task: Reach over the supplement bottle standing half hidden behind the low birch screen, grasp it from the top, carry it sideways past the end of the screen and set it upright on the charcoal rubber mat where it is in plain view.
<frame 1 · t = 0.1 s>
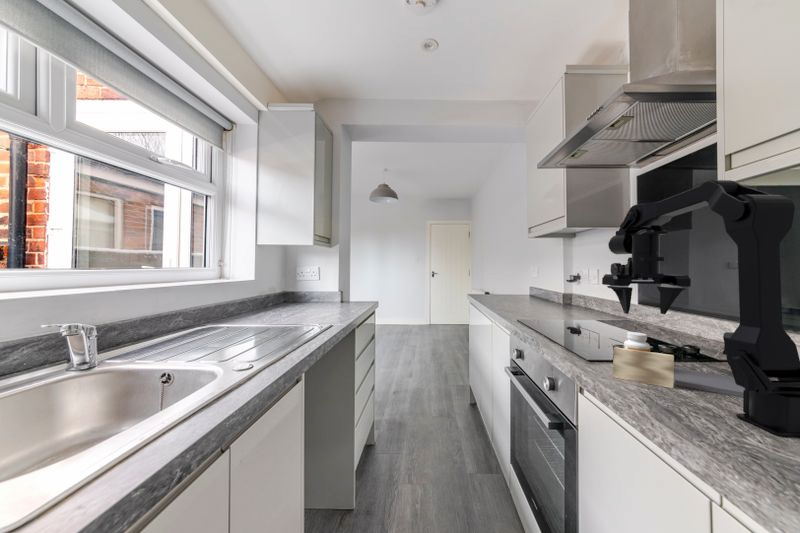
hand: (644, 313, 81), 15 cm above the worktop, tool pointing down, fingers open, 9 cm apart
birch screen: (641, 381, 73), on the worktop
supplement bottle: (636, 372, 80), on the worktop
charcoal mat: (706, 383, 72), on the worktop
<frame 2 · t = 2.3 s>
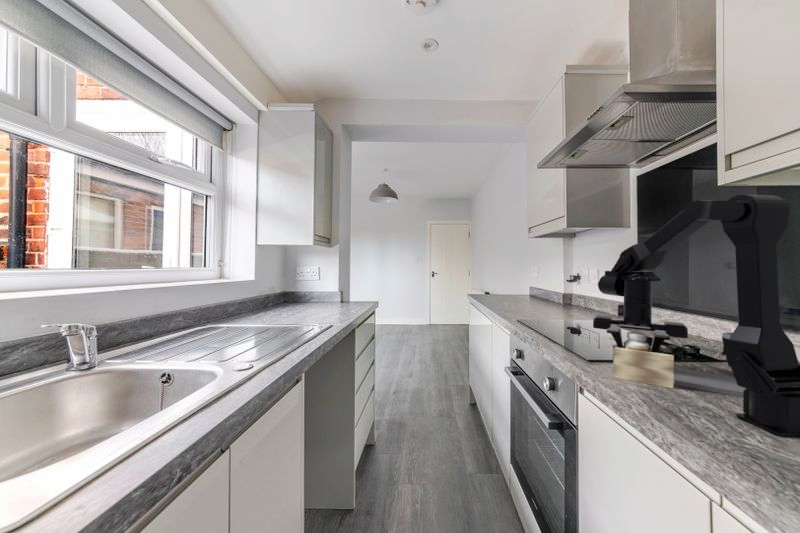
hand: (636, 359, 80), 3 cm above the worktop, tool pointing down, fingers closed on supplement bottle, 5 cm apart
supplement bottle: (636, 372, 80), on the worktop, touching gripper
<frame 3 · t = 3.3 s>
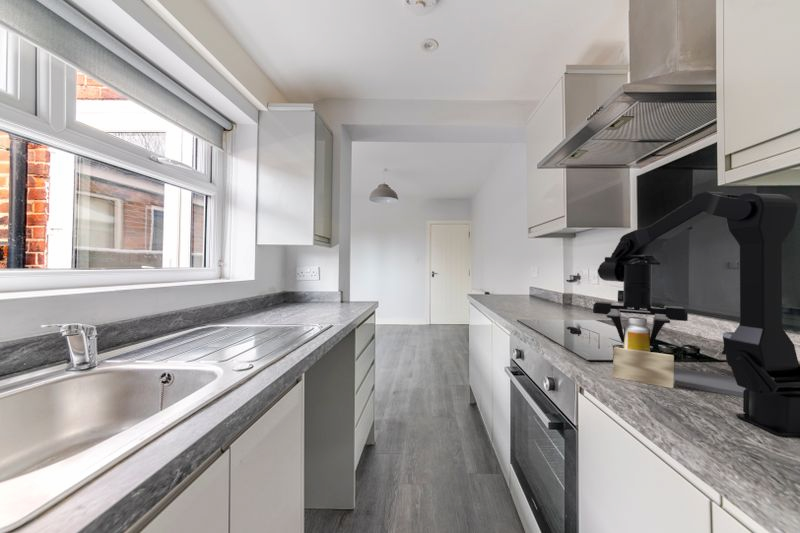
hand: (636, 344, 80), 7 cm above the worktop, tool pointing down, fingers closed on supplement bottle, 5 cm apart
supplement bottle: (636, 356, 80), point 4 cm above the worktop, touching gripper
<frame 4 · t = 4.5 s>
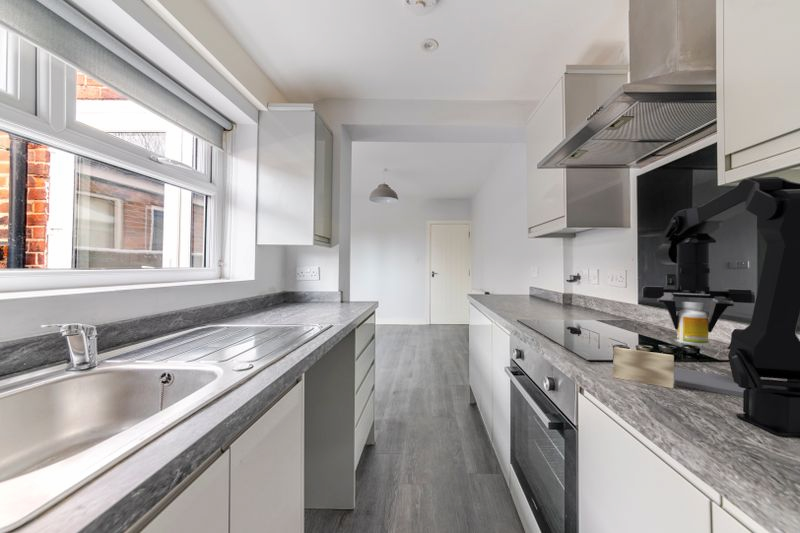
hand: (692, 330, 74), 12 cm above the worktop, tool pointing down, fingers closed on supplement bottle, 5 cm apart
supplement bottle: (692, 344, 74), point 9 cm above the worktop, touching gripper
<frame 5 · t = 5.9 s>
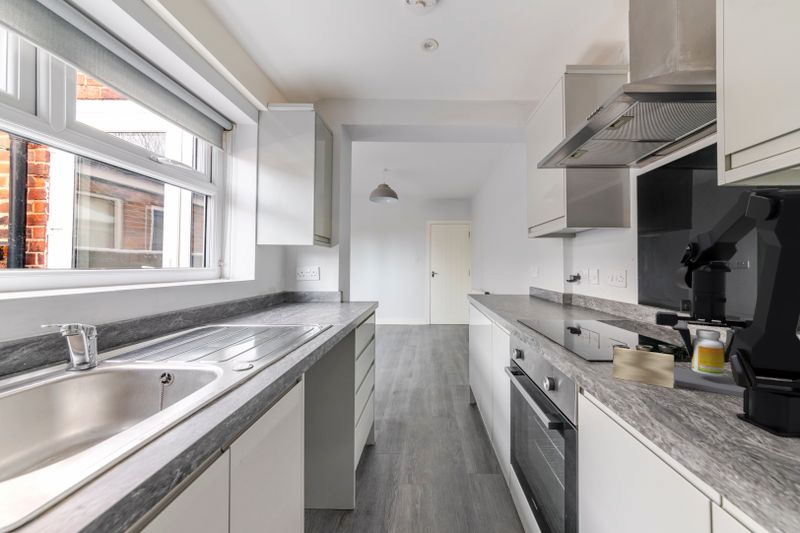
hand: (707, 359, 72), 5 cm above the worktop, tool pointing down, fingers closed on supplement bottle, 5 cm apart
supplement bottle: (707, 373, 72), point 2 cm above the worktop, touching gripper
when the fingers open (5 cm above the worktop, at t = 6.8 s): supplement bottle drops 1 cm, resting on charcoal mat.
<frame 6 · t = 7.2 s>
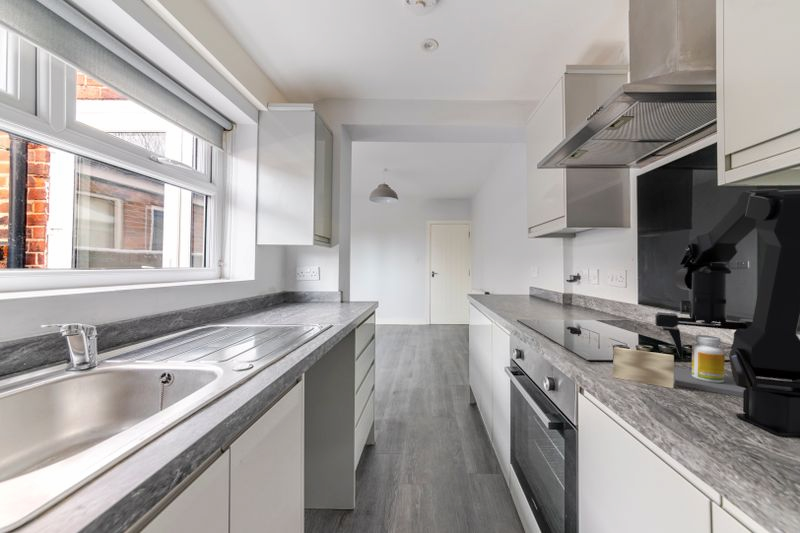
hand: (707, 360, 72), 5 cm above the worktop, tool pointing down, fingers open, 9 cm apart
supplement bottle: (707, 379, 72), point 1 cm above the worktop, touching charcoal mat
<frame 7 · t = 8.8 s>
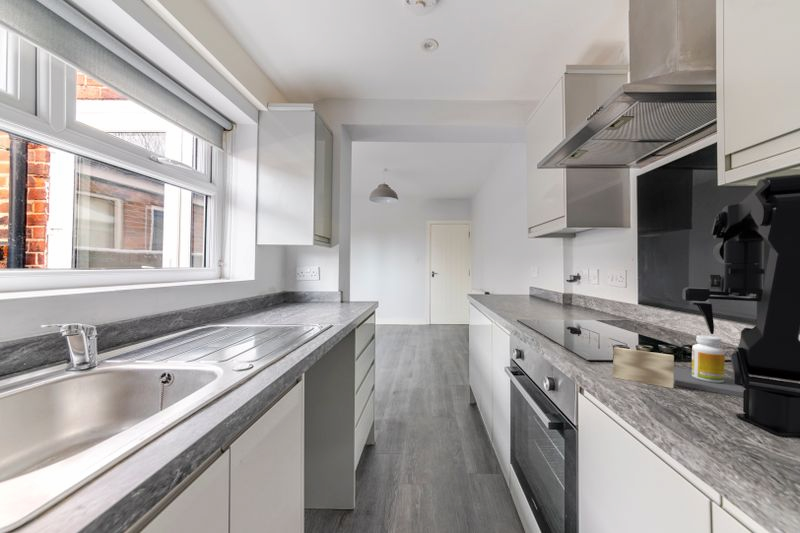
hand: (741, 336, 67), 12 cm above the worktop, tool pointing down, fingers open, 9 cm apart
nothing on the worktop moved.
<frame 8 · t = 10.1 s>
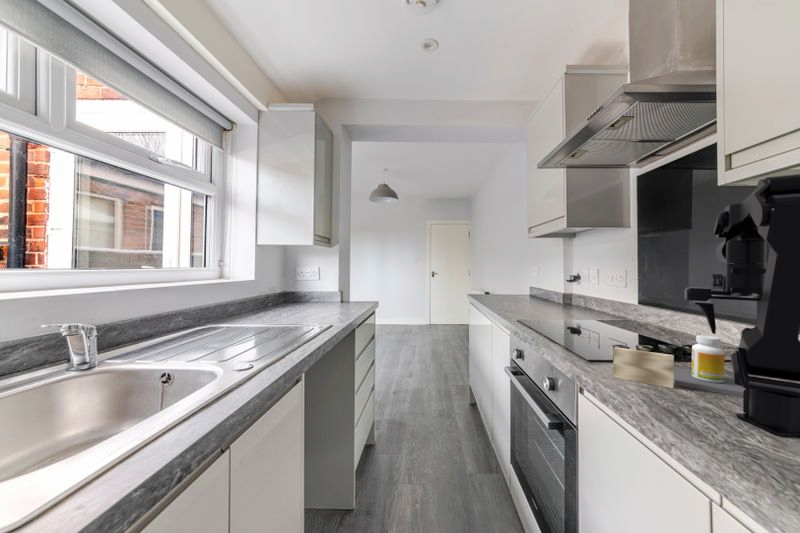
hand: (743, 336, 67), 12 cm above the worktop, tool pointing down, fingers open, 9 cm apart
nothing on the worktop moved.
at the end: supplement bottle inside the target area on the charcoal mat (0.1 cm from its centre), point 0.8 cm above the charcoal mat's base; supplement bottle tilted 0°; the gripper is holding nothing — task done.
